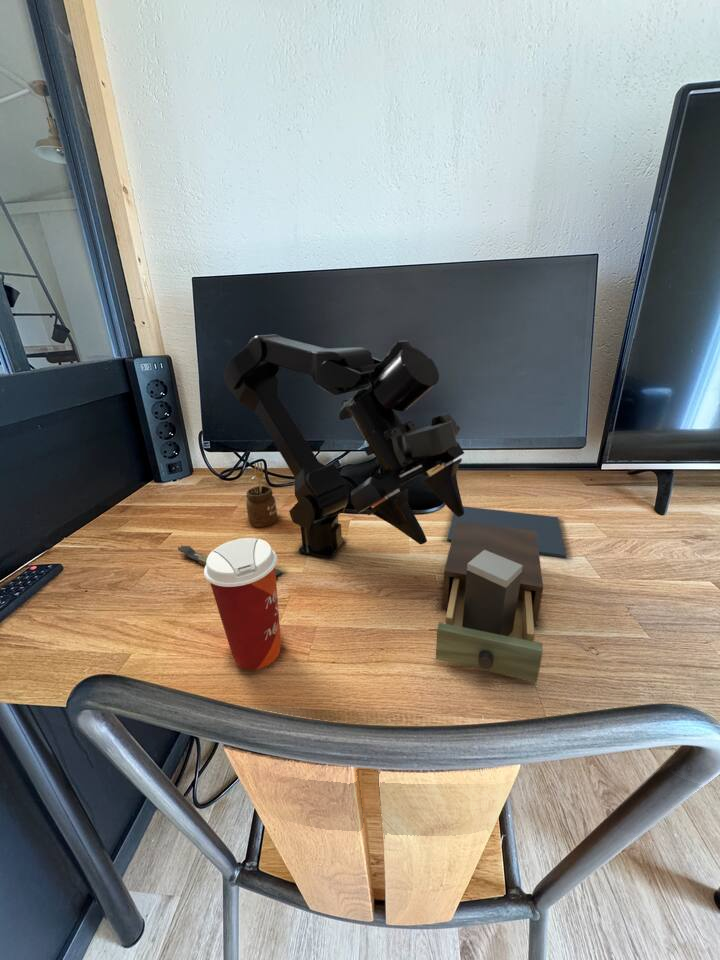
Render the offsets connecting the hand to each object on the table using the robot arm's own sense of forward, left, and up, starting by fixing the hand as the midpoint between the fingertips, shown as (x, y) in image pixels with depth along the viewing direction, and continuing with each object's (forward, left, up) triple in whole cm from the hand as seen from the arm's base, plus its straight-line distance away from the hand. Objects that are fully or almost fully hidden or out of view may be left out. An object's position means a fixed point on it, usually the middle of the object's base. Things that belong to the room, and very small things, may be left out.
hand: (443, 528), depth 53 cm
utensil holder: (-39, +16, -13) cm, 45 cm away
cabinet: (+7, +7, -13) cm, 17 cm away
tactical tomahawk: (-37, 0, -13) cm, 40 cm away
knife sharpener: (+7, -5, -11) cm, 14 cm away
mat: (+9, +25, -13) cm, 30 cm away
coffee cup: (-21, -15, -13) cm, 29 cm away
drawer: (+7, -4, -12) cm, 15 cm away
